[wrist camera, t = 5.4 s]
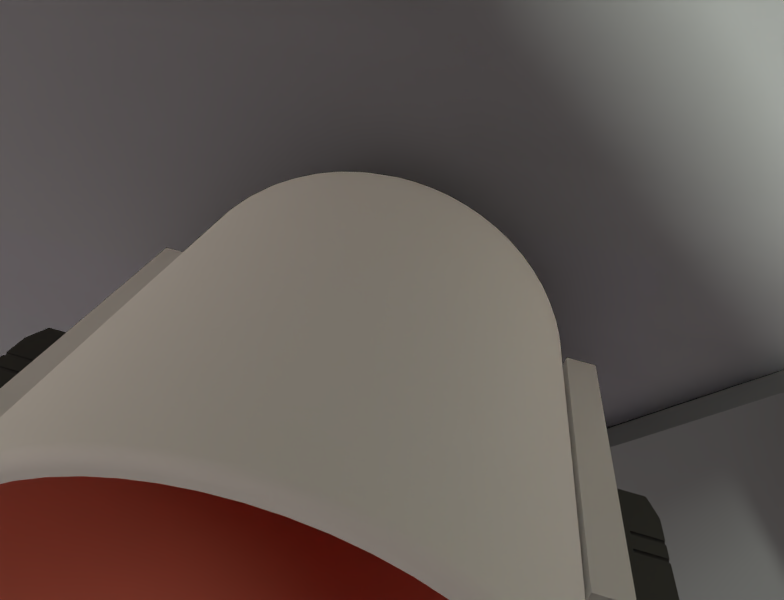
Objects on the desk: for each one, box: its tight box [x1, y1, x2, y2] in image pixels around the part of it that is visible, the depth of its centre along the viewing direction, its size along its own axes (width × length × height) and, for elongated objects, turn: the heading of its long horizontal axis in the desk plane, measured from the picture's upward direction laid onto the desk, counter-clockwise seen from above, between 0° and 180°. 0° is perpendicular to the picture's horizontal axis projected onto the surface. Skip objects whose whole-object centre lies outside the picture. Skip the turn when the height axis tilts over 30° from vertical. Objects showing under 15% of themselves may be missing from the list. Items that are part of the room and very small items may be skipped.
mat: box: [607, 370, 784, 600], centre depth 21 cm, size 13×17×1 cm
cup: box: [0, 172, 585, 600], centre depth 13 cm, size 10×10×10 cm
